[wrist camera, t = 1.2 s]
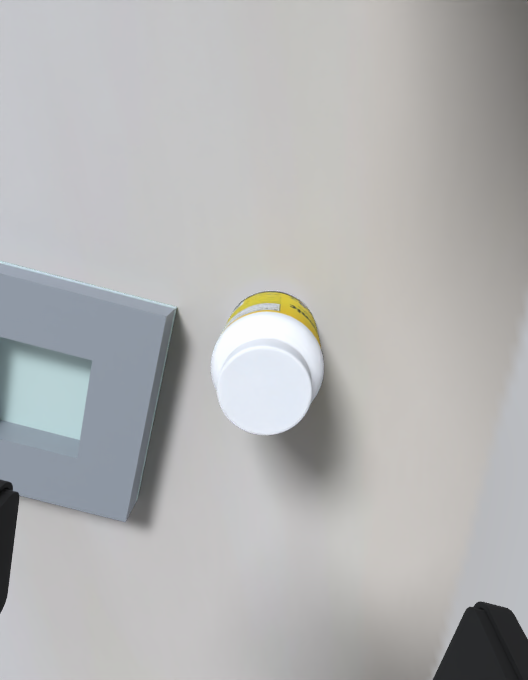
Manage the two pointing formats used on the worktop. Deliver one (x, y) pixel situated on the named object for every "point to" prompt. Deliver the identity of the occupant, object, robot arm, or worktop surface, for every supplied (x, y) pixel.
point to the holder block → (78, 389)
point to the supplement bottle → (268, 363)
